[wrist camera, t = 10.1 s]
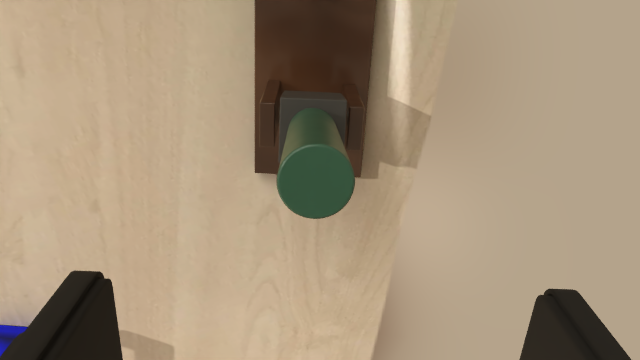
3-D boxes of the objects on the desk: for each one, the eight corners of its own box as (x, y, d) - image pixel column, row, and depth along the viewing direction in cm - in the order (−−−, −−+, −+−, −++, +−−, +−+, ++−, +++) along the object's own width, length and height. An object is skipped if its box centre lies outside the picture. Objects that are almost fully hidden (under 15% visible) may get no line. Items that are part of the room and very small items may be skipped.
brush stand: (256, -213, 26) (240, -266, 20) (392, -203, 26) (416, -254, 20) (256, 167, 34) (244, 210, 28) (359, 171, 34) (369, 215, 28)
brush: (252, 126, 14) (250, 230, 14) (383, 132, 14) (376, 235, 15) (280, 87, 28) (278, 140, 29) (344, 90, 28) (341, 143, 29)
